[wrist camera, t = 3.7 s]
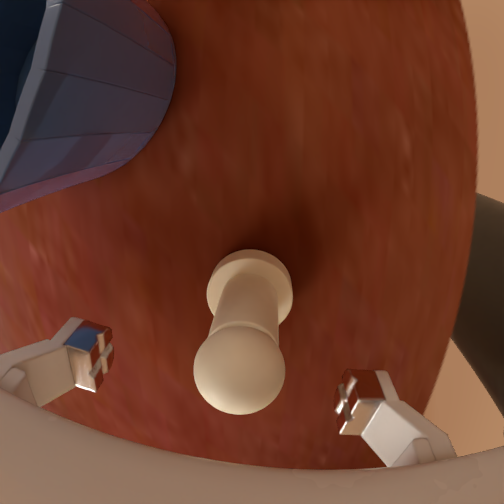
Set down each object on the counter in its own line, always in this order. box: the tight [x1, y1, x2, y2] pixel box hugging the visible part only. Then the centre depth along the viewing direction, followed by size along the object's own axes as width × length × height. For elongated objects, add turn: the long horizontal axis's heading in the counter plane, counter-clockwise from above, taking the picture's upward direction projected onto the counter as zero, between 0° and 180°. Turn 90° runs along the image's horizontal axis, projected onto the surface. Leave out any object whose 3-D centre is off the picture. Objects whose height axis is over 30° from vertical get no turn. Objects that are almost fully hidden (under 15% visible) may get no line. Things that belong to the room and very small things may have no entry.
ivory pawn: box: [194, 249, 293, 415], centre depth 12 cm, size 4×4×8 cm
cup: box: [0, 0, 176, 213], centre depth 8 cm, size 10×10×9 cm
